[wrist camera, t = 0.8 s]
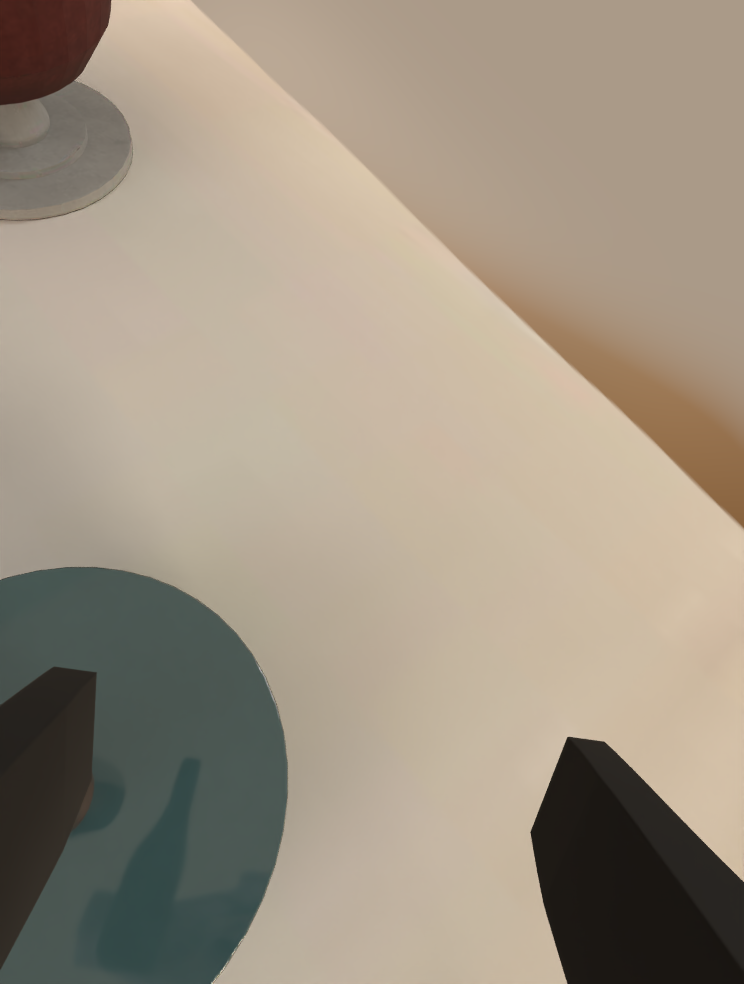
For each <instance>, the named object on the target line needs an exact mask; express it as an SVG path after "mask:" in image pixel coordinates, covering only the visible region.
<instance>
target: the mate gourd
mask: <svg viewBox="0 0 744 984" xmlns="http://www.w3.org/2000/svg"><path fill="white" fill-rule="evenodd" d="M110 12H111V0H0V219H7V220H27V219H42V218H47V217H53V216H58V215H63V214H66V213H69V212H72V211H75V210H78V209H81V208H84V207H86V206H88V205H90V204H92V203H94V202H96V201H98V200H100V199H101V198H103V197H104V196H105V195H107V194H108V193H109V192H111V191H112V190H113V189H114V188H116V186H117V185H118V184H119V183H120V182H121V180H122V179H123V178H124V177H125V176H126V173H127V171H128V169H129V167H130V165H131V162H132V153H133V147H132V141H131V136H130V131H129V126H128V124H127V122H126V120H125V118H124V116H123V115H122V113H121V112H120V111H119V110H118V109H117V107H116V106H115V105H114V104H113V103H112V102H111V101H109V100H108V99H107V98H106V97H104V96H103V95H102V94H100V93H99V92H97V91H95V90H93V89H91V88H90V87H88V86H86V85H84V84H82V83H79V82H76V81H74V80H75V79H76V78H77V77H78V76H79V75H80V74H81V73H82V72H83V70H84V68H85V67H86V65H87V63H88V61H89V59H90V58H91V56H92V54H93V52H94V50H95V48H96V47H97V45H98V43H99V41H100V39H101V37H102V36H103V34H104V32H105V30H106V28H107V26H108V23H109V18H110Z"/></svg>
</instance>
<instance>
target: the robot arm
mask: <svg viewBox="0 0 744 984" xmlns="http://www.w3.org/2000/svg"><path fill="white" fill-rule="evenodd" d="M96 678H97V672H91V671H83V670H76V669H69V668H61V667H52V668H51V669H49V670H48V671H46V672H45V673H43V674H42V675H40V676H39V677H38V678H36V679H35V680H34V681H32V682H31V683H29V684H28V685H27V686H25V687H24V688H23V689H21V690H20V691H19V692H17V693H16V694H15V695H13V696H12V697H11V698H9V699H8V700H7V701H5V702H4V703H3V704H1V705H0V970H1V968H2V966H3V964H4V962H5V961H6V959H7V957H8V955H9V953H10V951H11V949H12V947H13V945H14V944H15V942H16V940H17V938H18V936H19V934H20V932H21V930H22V928H23V927H24V925H25V923H26V921H27V919H28V917H29V915H30V913H31V912H32V910H33V908H34V906H35V904H36V902H37V900H38V898H39V896H40V894H41V892H42V891H43V889H44V887H45V885H46V883H47V881H48V879H49V877H50V875H51V873H52V871H53V870H54V868H55V866H56V864H57V862H58V860H59V858H60V856H61V854H62V852H63V850H64V847H65V845H66V842H67V840H68V838H69V835H70V833H71V830H72V828H73V825H74V823H75V821H76V818H77V816H78V813H79V810H80V808H81V805H82V803H83V800H84V798H85V795H86V793H87V790H88V787H89V785H90V782H91V780H92V760H93V740H94V719H95V699H96ZM531 838H532V844H533V850H534V856H535V862H536V867H537V873H538V878H539V883H540V888H541V893H542V898H543V903H544V907H545V910H546V914H547V917H548V921H549V924H550V927H551V931H552V934H553V937H554V941H555V944H556V947H557V951H558V954H559V957H560V961H561V964H562V967H563V971H564V974H565V977H566V980H567V984H744V882H743V881H742V880H741V879H740V878H739V877H738V876H737V875H736V874H735V873H734V872H733V871H732V870H731V869H730V868H729V867H728V866H727V865H726V864H725V863H724V862H723V861H722V860H721V859H720V858H719V857H718V856H717V855H716V854H715V853H714V852H713V851H712V850H711V849H710V848H709V847H708V846H707V845H706V844H705V843H704V842H703V841H702V840H701V839H700V838H699V837H698V836H697V835H696V834H695V833H694V832H693V831H692V830H691V829H690V828H689V827H688V826H687V825H686V824H685V823H684V822H683V821H682V820H681V818H680V817H679V816H678V815H677V814H676V813H675V812H674V811H673V810H672V809H671V808H670V807H669V806H668V805H667V804H666V803H665V802H664V801H663V800H662V799H661V798H660V797H659V796H658V795H657V794H656V793H655V792H654V791H653V790H652V789H651V787H650V786H649V785H648V784H647V783H646V782H645V781H644V780H643V779H642V778H641V777H640V776H639V775H638V774H637V773H636V772H635V771H634V770H633V769H632V768H631V767H630V766H629V765H628V764H627V763H626V762H625V761H624V760H623V759H622V758H621V757H620V756H619V755H618V754H617V753H616V752H615V751H614V750H613V749H612V748H611V747H609V746H608V745H607V744H606V743H605V742H602V741H595V740H588V739H580V738H573V737H567V740H566V742H565V745H564V747H563V750H562V752H561V755H560V758H559V760H558V763H557V765H556V768H555V770H554V773H553V776H552V778H551V781H550V783H549V786H548V788H547V791H546V794H545V796H544V799H543V801H542V804H541V806H540V809H539V812H538V814H537V817H536V819H535V822H534V824H533V827H532V830H531Z"/></svg>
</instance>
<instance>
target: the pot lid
mask: <svg viewBox="0 0 744 984" xmlns="http://www.w3.org/2000/svg"><path fill="white" fill-rule="evenodd" d="M52 667H61V668H69V669H76V670H83V671H91V672H97V678H96V699H95V719H94V740H93V760H92V780H91V782H90V785H89V787H88V790H87V793H86V795H85V798H84V800H83V803H82V805H81V808H80V810H79V813H78V816H77V818H76V821H75V823H74V825H73V828H72V830H71V833H70V835H69V838H68V840H67V842H66V845H65V847H64V850H63V852H62V854H61V856H60V858H59V860H58V862H57V864H56V866H55V868H54V870H53V871H52V873H51V875H50V877H49V879H48V881H47V883H46V885H45V887H44V889H43V891H42V892H41V894H40V896H39V898H38V900H37V902H36V904H35V906H34V908H33V910H32V912H31V913H30V915H29V917H28V919H27V921H26V923H25V925H24V927H23V928H22V930H21V932H20V934H19V936H18V938H17V940H16V942H15V944H14V945H13V947H12V949H11V951H10V953H9V955H8V957H7V959H6V961H5V962H4V964H3V966H2V968H1V970H0V984H213V983H214V982H215V980H216V979H217V978H218V977H219V975H220V974H221V973H222V971H223V970H224V969H225V967H226V966H227V964H228V963H229V961H230V959H231V958H232V956H233V955H234V953H235V951H236V950H237V948H238V947H239V945H240V943H241V942H242V940H243V939H244V937H245V935H246V934H247V932H248V930H249V928H250V925H251V923H252V921H253V919H254V917H255V915H256V913H257V911H258V909H259V907H260V905H261V903H262V901H263V898H264V896H265V893H266V890H267V887H268V884H269V882H270V879H271V876H272V873H273V870H274V868H275V865H276V861H277V856H278V852H279V848H280V844H281V839H282V835H283V831H284V824H285V815H286V807H287V798H288V762H287V754H286V745H285V737H284V731H283V727H282V723H281V719H280V715H279V712H278V708H277V704H276V701H275V699H274V696H273V694H272V691H271V689H270V686H269V684H268V681H267V679H266V677H265V675H264V673H263V672H262V670H261V668H260V666H259V665H258V663H257V661H256V659H255V658H254V656H253V654H252V653H251V652H250V650H249V649H248V648H247V646H246V645H245V644H244V642H243V641H242V640H241V638H240V637H239V636H238V634H237V633H236V632H235V631H234V630H233V629H232V628H231V627H230V626H229V625H228V624H227V623H226V622H225V621H224V620H223V619H222V618H221V617H220V616H219V615H217V614H216V613H215V612H213V611H212V610H211V609H209V608H208V607H207V606H205V605H204V604H203V603H201V602H200V601H199V600H197V599H196V598H194V597H192V596H190V595H188V594H187V593H185V592H183V591H181V590H179V589H178V588H176V587H174V586H171V585H169V584H166V583H164V582H161V581H159V580H156V579H153V578H151V577H148V576H144V575H139V574H135V573H131V572H127V571H123V570H115V569H106V568H98V567H65V568H56V569H48V570H39V571H34V572H30V573H25V574H21V575H16V576H12V577H8V578H5V579H2V580H0V705H1V704H3V703H4V702H5V701H7V700H8V699H9V698H11V697H12V696H13V695H15V694H16V693H17V692H19V691H20V690H21V689H23V688H24V687H25V686H27V685H28V684H29V683H31V682H32V681H34V680H35V679H36V678H38V677H39V676H40V675H42V674H43V673H45V672H46V671H48V670H49V669H51V668H52Z"/></svg>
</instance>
